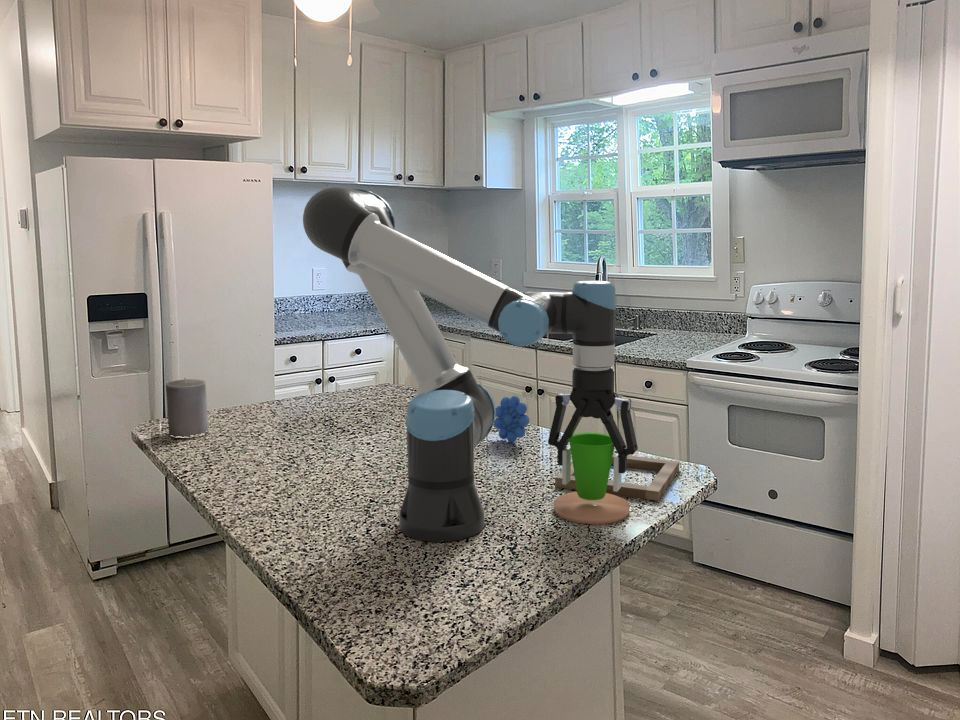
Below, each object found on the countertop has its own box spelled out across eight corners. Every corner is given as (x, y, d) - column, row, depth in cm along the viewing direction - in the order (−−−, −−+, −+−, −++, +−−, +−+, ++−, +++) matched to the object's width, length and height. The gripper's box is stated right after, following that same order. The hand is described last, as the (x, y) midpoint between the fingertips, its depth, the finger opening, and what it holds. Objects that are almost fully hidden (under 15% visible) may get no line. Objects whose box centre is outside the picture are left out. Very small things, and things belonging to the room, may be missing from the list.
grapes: (540, 443, 187) (540, 396, 185) (521, 449, 182) (521, 400, 180) (507, 434, 195) (507, 388, 193) (488, 439, 191) (487, 392, 189)
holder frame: (658, 501, 147) (658, 491, 147) (555, 486, 156) (555, 477, 155) (679, 470, 166) (679, 461, 165) (585, 458, 175) (586, 450, 174)
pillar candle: (162, 435, 198) (157, 378, 195) (197, 427, 205) (193, 372, 202) (181, 442, 192) (176, 383, 189) (216, 433, 199) (212, 377, 196)
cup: (615, 505, 137) (616, 446, 135) (564, 502, 139) (565, 444, 137) (616, 489, 146) (617, 433, 144) (569, 486, 148) (569, 431, 146)
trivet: (617, 529, 134) (618, 522, 134) (542, 517, 140) (542, 510, 139) (637, 503, 146) (637, 497, 146) (567, 493, 152) (567, 487, 152)
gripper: (658, 367, 137) (654, 487, 141) (544, 359, 146) (543, 472, 150) (648, 374, 130) (645, 500, 134) (529, 366, 140) (529, 484, 143)
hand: (591, 485), depth 142 cm, fingers closed on cup, 9 cm apart
